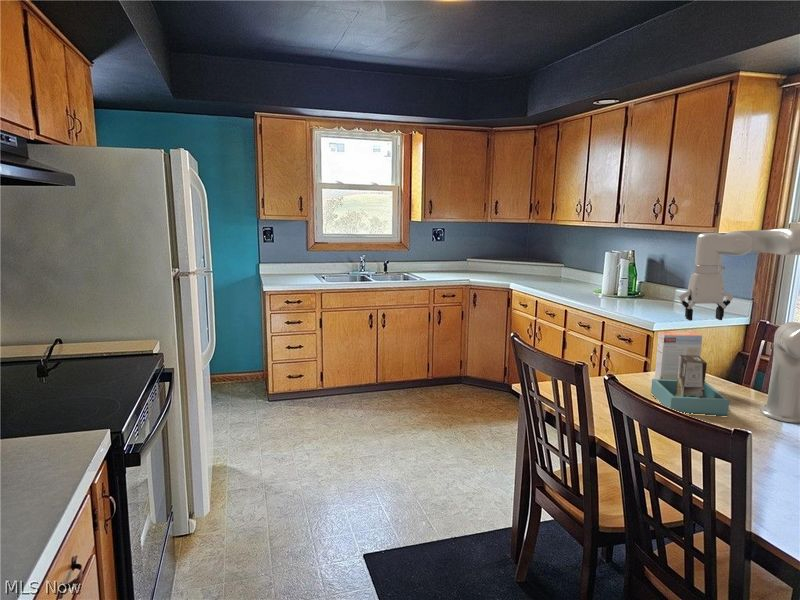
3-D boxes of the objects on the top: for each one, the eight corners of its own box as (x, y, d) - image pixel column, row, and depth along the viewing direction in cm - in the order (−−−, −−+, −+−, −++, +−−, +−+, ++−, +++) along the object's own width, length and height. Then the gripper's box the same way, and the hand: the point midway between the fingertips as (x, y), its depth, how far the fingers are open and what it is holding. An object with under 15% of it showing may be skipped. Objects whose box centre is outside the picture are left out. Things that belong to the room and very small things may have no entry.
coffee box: (702, 408, 168) (707, 363, 165) (681, 406, 170) (686, 361, 167) (694, 398, 176) (699, 355, 173) (674, 396, 178) (679, 354, 175)
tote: (702, 396, 181) (704, 381, 180) (727, 417, 163) (729, 400, 162) (650, 394, 183) (652, 378, 182) (669, 414, 166) (671, 397, 165)
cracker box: (690, 382, 195) (695, 331, 191) (697, 387, 190) (703, 335, 186) (653, 381, 197) (658, 330, 193) (659, 386, 191) (664, 334, 187)
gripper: (728, 268, 169) (724, 316, 172) (675, 269, 171) (672, 317, 174) (741, 270, 161) (736, 321, 164) (685, 271, 163) (682, 322, 166)
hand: (703, 319), depth 169 cm, fingers open, 9 cm apart
